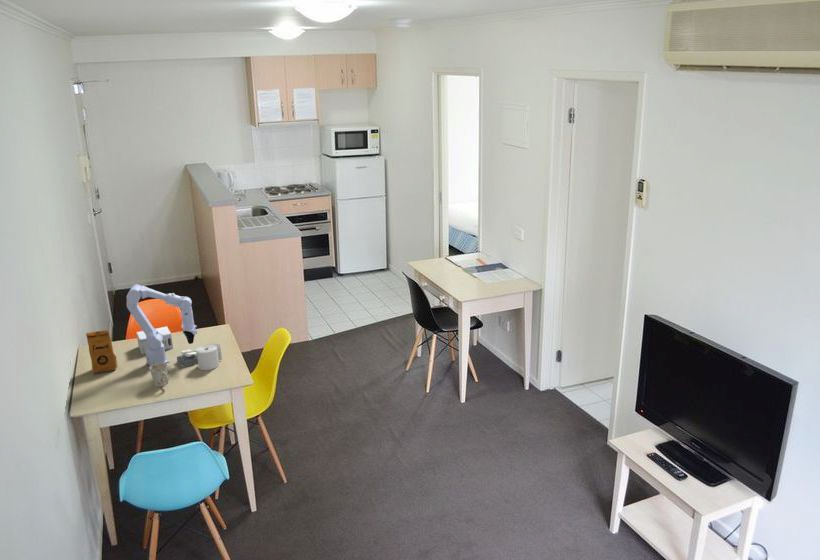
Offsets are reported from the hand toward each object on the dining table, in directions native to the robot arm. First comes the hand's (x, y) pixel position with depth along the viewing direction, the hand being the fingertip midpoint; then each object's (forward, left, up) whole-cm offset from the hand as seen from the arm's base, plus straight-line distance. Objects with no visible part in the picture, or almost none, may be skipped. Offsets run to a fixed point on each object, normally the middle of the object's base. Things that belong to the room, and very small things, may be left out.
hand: (190, 343), depth 354 cm
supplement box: (-8, +30, -10) cm, 32 cm away
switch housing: (-2, -3, -9) cm, 10 cm away
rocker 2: (-2, -4, -4) cm, 7 cm away
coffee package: (-39, +21, -9) cm, 45 cm away
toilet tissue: (+2, -14, -9) cm, 17 cm away
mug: (-25, -19, -9) cm, 33 cm away
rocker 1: (-2, 0, -4) cm, 5 cm away
